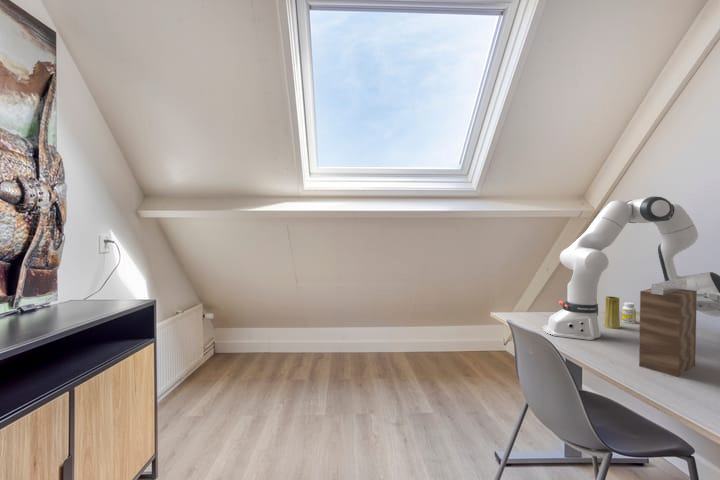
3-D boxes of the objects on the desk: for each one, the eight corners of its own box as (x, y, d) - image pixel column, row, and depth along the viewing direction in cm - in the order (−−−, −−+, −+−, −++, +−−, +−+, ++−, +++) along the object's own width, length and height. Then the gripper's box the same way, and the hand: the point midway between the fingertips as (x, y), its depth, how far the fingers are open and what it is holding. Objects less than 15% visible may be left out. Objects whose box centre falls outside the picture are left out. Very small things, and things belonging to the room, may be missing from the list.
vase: (623, 329, 153) (623, 299, 153) (608, 328, 154) (608, 298, 154) (615, 325, 159) (615, 296, 159) (601, 324, 160) (601, 296, 160)
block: (663, 295, 105) (663, 285, 105) (651, 293, 108) (651, 284, 107) (686, 288, 116) (686, 279, 116) (675, 286, 119) (675, 278, 119)
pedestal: (678, 377, 104) (679, 296, 103) (639, 366, 112) (640, 291, 112) (695, 365, 112) (696, 290, 111) (657, 356, 121) (658, 286, 120)
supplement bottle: (627, 323, 162) (628, 304, 161) (619, 320, 167) (619, 302, 167) (638, 323, 162) (638, 304, 161) (629, 320, 167) (629, 301, 167)
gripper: (670, 292, 141) (655, 285, 135) (740, 295, 123) (726, 287, 117) (670, 306, 140) (654, 300, 134) (741, 311, 122) (727, 304, 116)
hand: (688, 294), depth 126 cm, fingers open, 8 cm apart
